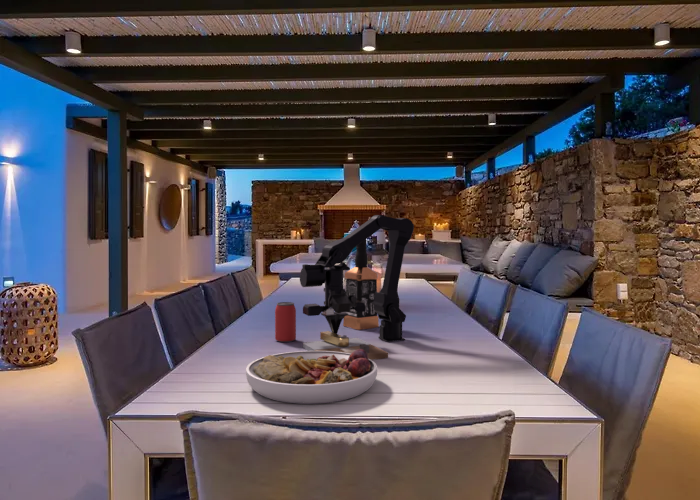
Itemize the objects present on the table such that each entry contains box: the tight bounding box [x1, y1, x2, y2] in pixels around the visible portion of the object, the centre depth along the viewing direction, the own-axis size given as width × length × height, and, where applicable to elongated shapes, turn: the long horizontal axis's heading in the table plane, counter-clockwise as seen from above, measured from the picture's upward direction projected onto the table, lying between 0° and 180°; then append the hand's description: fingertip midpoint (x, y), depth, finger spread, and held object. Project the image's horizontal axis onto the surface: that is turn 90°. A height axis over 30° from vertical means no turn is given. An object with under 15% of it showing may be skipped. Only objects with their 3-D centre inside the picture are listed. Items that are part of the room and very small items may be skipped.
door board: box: [315, 344, 389, 361], centre depth 151 cm, size 18×11×4 cm, turn 113°
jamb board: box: [302, 337, 372, 351], centre depth 160 cm, size 18×12×2 cm, turn 113°
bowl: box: [245, 349, 378, 405], centre depth 123 cm, size 30×30×8 cm
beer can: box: [274, 301, 297, 343], centre depth 171 cm, size 7×7×12 cm
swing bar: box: [319, 330, 350, 347], centre depth 160 cm, size 13×3×3 cm, turn 33°
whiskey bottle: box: [342, 239, 380, 331], centre depth 195 cm, size 10×10×32 cm
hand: (334, 335), depth 164 cm, fingers closed
